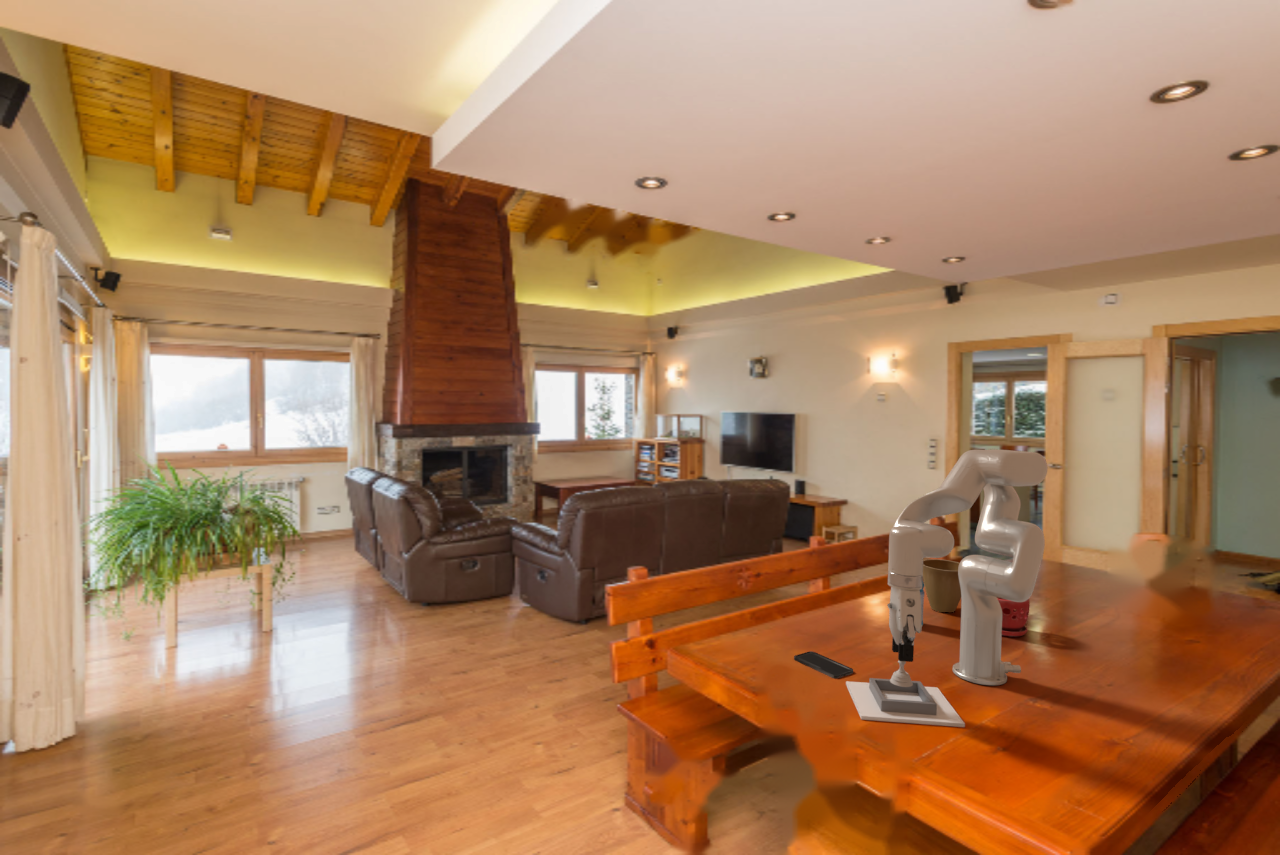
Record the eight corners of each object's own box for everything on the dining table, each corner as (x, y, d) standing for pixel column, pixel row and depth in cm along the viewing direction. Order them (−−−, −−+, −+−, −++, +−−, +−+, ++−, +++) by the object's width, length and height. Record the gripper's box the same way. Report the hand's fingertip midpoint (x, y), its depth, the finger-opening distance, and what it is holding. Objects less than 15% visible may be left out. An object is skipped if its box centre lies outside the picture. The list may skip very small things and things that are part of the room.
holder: (937, 690, 158) (937, 677, 158) (964, 727, 140) (965, 712, 140) (845, 684, 160) (846, 671, 160) (861, 719, 143) (861, 705, 142)
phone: (811, 650, 180) (855, 669, 168) (811, 654, 180) (855, 673, 168) (791, 656, 176) (834, 676, 163) (791, 660, 176) (834, 680, 163)
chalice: (909, 676, 153) (912, 602, 153) (923, 688, 146) (926, 611, 146) (880, 676, 153) (882, 602, 153) (892, 688, 146) (894, 611, 146)
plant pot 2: (1015, 625, 206) (1017, 588, 205) (1036, 640, 193) (1038, 601, 192) (973, 623, 207) (974, 587, 206) (991, 638, 194) (993, 599, 193)
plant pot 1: (910, 606, 224) (911, 561, 223) (940, 601, 230) (941, 557, 229) (946, 619, 210) (948, 572, 210) (977, 614, 216) (978, 567, 216)
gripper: (933, 591, 140) (930, 672, 141) (911, 571, 157) (908, 644, 158) (898, 589, 141) (895, 670, 142) (879, 569, 158) (877, 642, 158)
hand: (902, 655), depth 150 cm, fingers closed on chalice, 4 cm apart
